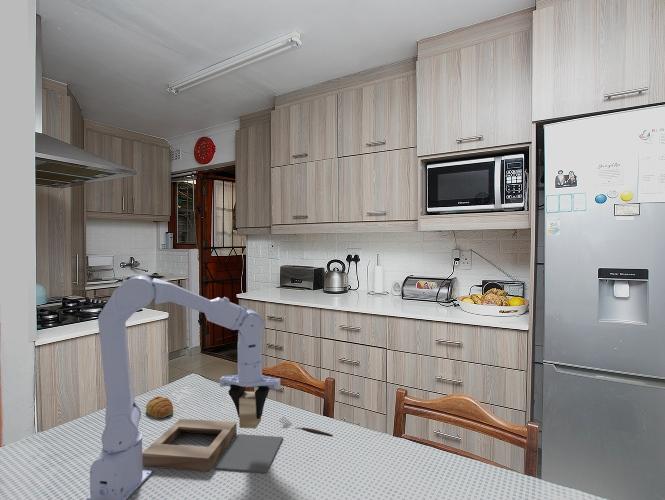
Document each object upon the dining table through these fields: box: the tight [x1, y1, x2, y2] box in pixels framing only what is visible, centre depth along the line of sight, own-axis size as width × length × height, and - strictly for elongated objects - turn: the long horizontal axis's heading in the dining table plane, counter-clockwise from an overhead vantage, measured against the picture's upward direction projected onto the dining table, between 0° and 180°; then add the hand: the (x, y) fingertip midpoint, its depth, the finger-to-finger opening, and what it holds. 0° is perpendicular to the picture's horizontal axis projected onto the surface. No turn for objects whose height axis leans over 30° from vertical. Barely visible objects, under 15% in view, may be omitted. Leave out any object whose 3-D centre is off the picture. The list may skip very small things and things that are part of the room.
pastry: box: [145, 395, 174, 419], centre depth 107 cm, size 9×7×4 cm
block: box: [238, 391, 262, 430], centre depth 86 cm, size 4×4×7 cm
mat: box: [214, 433, 284, 474], centre depth 86 cm, size 14×12×1 cm
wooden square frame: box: [142, 418, 238, 472], centre depth 88 cm, size 16×16×3 cm
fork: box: [278, 416, 334, 437], centre depth 97 cm, size 3×16×2 cm, turn 66°
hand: (250, 416), depth 86 cm, fingers closed on block, 4 cm apart
